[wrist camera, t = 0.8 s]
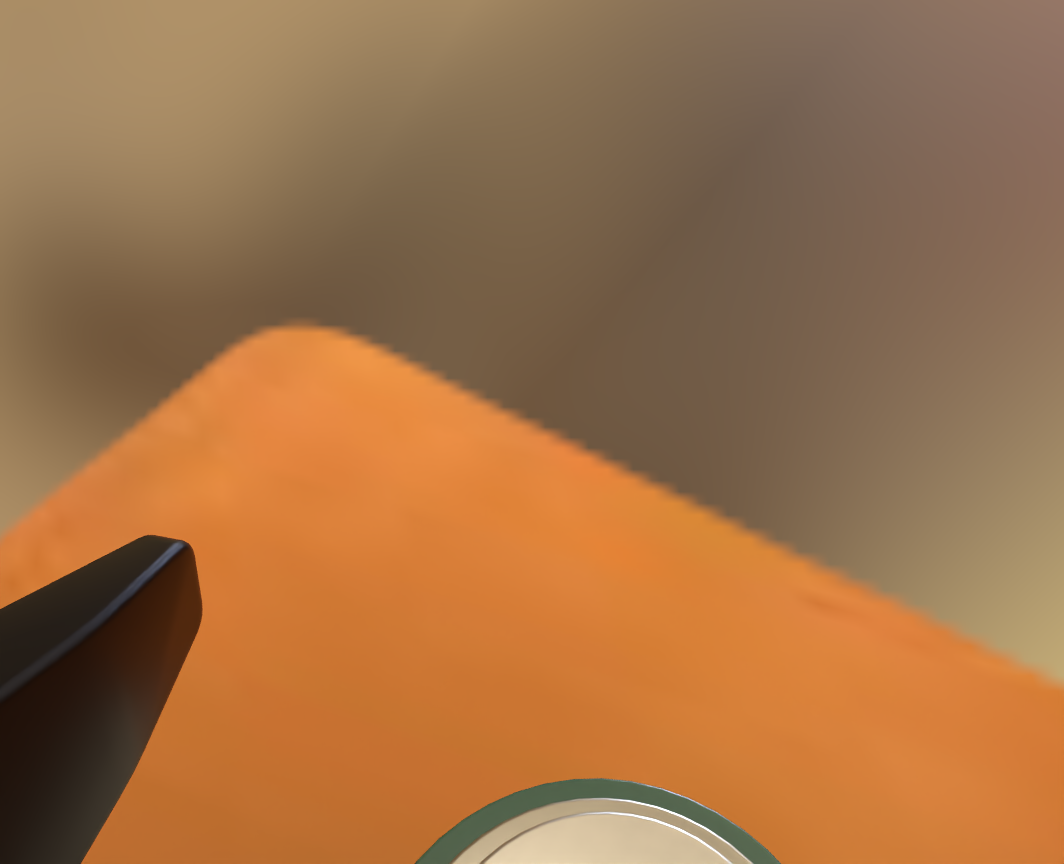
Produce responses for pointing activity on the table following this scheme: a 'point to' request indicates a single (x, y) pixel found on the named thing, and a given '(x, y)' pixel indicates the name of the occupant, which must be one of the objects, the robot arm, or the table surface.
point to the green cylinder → (596, 829)
